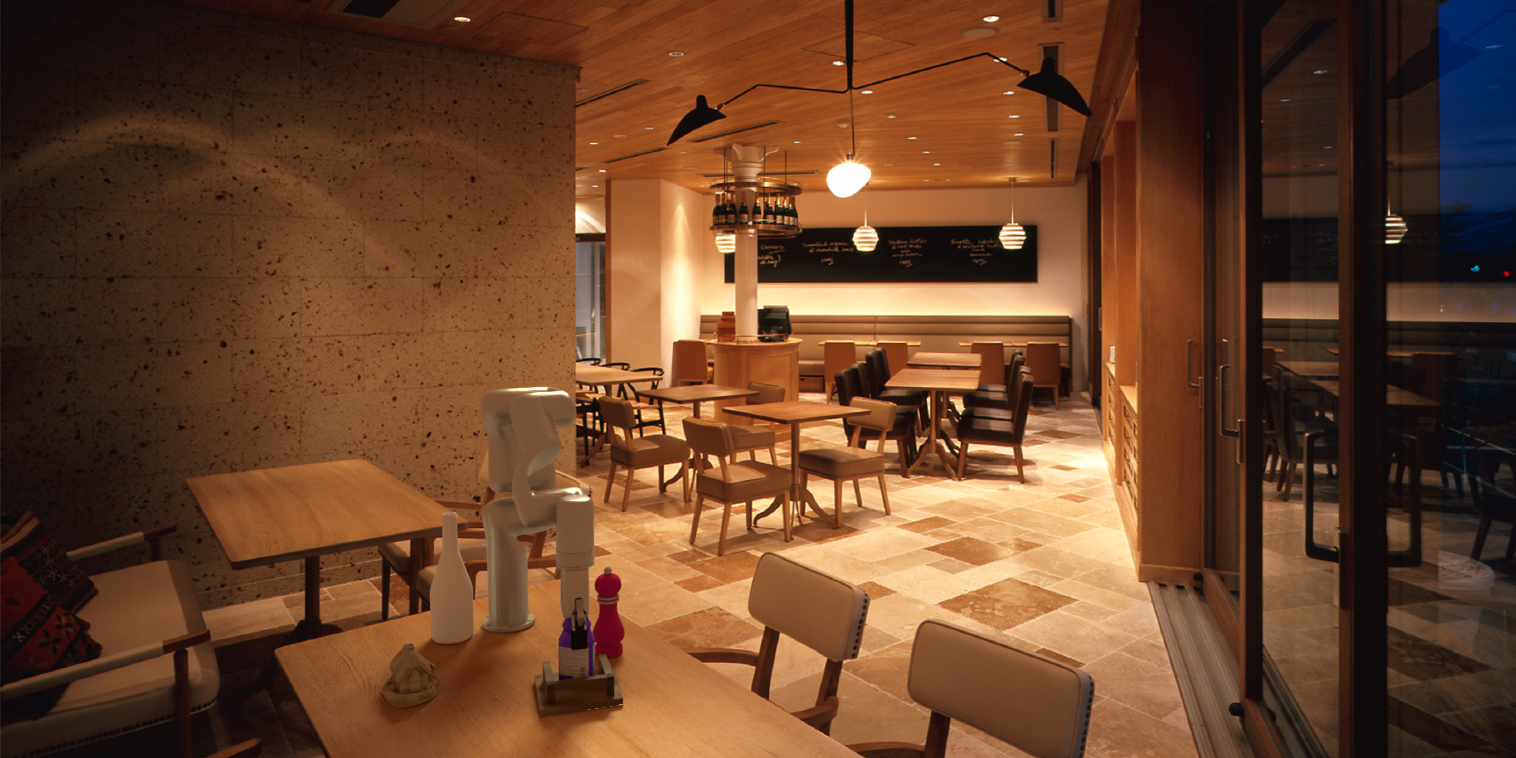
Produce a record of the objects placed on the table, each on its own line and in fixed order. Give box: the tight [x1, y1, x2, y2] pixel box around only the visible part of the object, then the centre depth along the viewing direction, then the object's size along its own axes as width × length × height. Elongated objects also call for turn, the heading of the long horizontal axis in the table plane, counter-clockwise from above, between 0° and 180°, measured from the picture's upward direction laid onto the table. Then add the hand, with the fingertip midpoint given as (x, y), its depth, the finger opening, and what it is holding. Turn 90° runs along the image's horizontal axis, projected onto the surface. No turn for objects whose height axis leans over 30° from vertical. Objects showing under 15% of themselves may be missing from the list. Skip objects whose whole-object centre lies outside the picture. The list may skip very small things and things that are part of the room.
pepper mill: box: [592, 566, 626, 659], centre depth 194 cm, size 7×7×20 cm
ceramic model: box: [381, 643, 440, 708], centre depth 175 cm, size 14×11×10 cm
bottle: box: [557, 613, 596, 680], centre depth 173 cm, size 7×6×17 cm
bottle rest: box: [534, 654, 624, 718], centre depth 174 cm, size 16×16×6 cm
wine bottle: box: [429, 511, 475, 645], centre depth 202 cm, size 10×10×30 cm
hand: (576, 639), depth 174 cm, fingers open, 9 cm apart
